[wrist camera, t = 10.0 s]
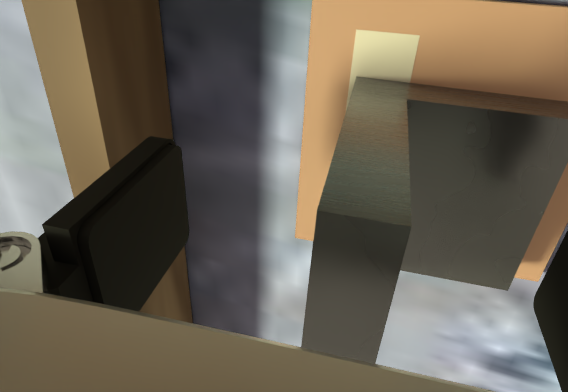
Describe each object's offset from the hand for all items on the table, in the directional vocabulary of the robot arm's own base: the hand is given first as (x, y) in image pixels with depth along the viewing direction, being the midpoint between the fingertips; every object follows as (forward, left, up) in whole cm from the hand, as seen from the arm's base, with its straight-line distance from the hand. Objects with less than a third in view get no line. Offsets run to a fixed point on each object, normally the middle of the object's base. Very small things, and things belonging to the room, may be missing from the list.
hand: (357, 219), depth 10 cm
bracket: (-2, +1, -4) cm, 5 cm away
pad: (-2, 0, -5) cm, 5 cm away
